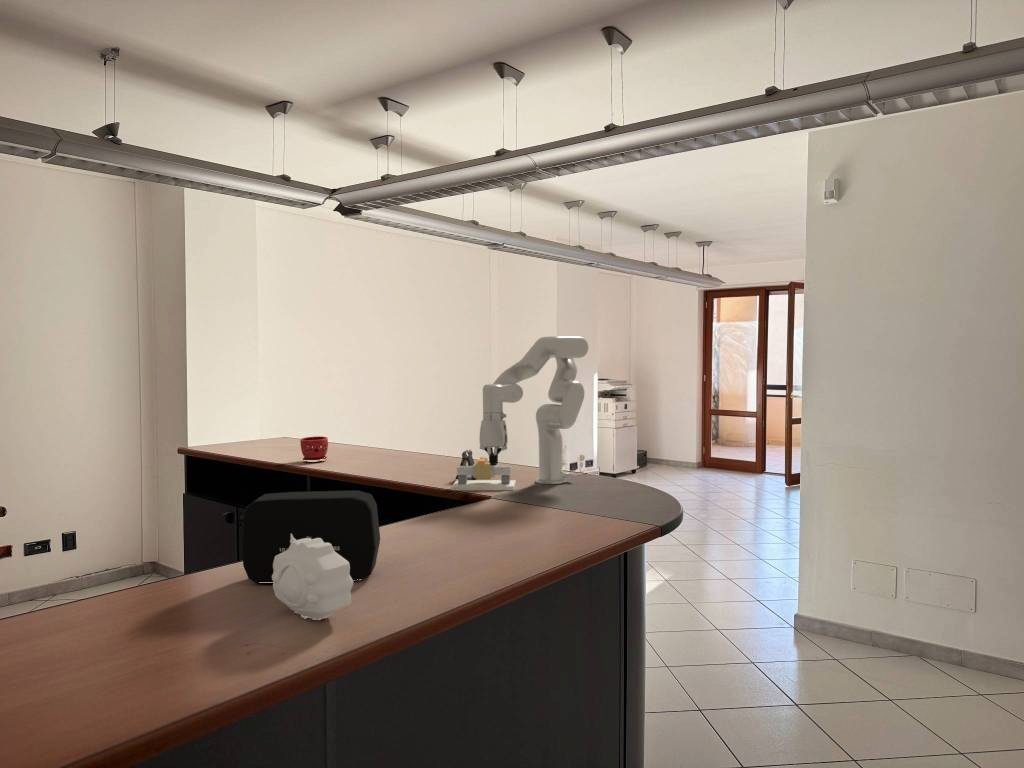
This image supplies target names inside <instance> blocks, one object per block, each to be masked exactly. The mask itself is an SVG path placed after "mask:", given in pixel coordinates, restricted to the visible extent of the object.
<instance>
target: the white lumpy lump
mask: <svg viewBox="0 0 1024 768" xmlns="http://www.w3.org/2000/svg"><path fill="white" fill-rule="evenodd" d="M290 536H291V540H290V543H291V544H290V547H289V549H288V550H287V551H285V552H282V553H280V554H278V555H276V556H275V558H274V562H273V570H274V572H273V575H272V580H273V582H274V583H273V584H272V588H273V592H274V596H275V597H276V598H277V599H278V600H279V601H281V602H282V603H283V605H286V606H287V607H288V608H289V609H290V610H291V611H292V610H293V611H295V612H297V613H298V614H297V615H299V614H300V615H303V616H308V617H311V618H316V619H319V618H323V617H325V616H328V615H331V614H333V613H334V614H335V613H336V612H337V610H339V609H341V608H344V607H346V606H349V605H350V604H351V602H352V595H351V594H352V593H351V590H352V588H353V586H354V581H353V580H352V578H351V576H350V574H349V572H350V565H349V562H348V561H347V560H346V559H344V558H343V557H342V556H340V555H339V554H337V553H336V552H335V551H334V549H333V547H332V545H331V544H330V543H324V542H323V540H322V539H321V538H315V539H311V538H304V539H300V540H296V539H295V538H294V537H293V535H292V534H291V535H290ZM293 611H292V612H293ZM334 614H333V615H334ZM300 615H299V616H300ZM311 618H310V619H311Z"/></svg>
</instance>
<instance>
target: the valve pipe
mask: <svg viewBox="0 0 1024 768" xmlns="http://www.w3.org/2000/svg"><path fill="white" fill-rule="evenodd" d="M457 475H467V476H471V475H473V478H476V480H492V479H493V478H495V476H502V475H510V476H511V475H512V465H495V466H493V465H492V466H490V463H489V461H485V465H482V466H477V462H475V464H474V465H473V466H468V465H466V466H460V465H458V466H456V476H457Z"/></svg>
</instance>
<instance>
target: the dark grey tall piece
mask: <svg viewBox="0 0 1024 768" xmlns="http://www.w3.org/2000/svg"><path fill="white" fill-rule="evenodd" d="M474 464H476V462H475V461H474V458H473V451H472V449H469V450H468V449H467V450H465V451H463V452H462V453H461V461H460V465H459V466H473V465H474ZM458 476H459V475H457V474H456V476H455V479H458ZM467 480H476V478H473V475H470V476H467Z"/></svg>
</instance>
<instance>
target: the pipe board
mask: <svg viewBox="0 0 1024 768" xmlns="http://www.w3.org/2000/svg"><path fill="white" fill-rule="evenodd" d="M467 477H468V475H459V476H458V480H455V482H454V483H453V484H452V485H451V490H452V489H458V490H457V491H514V490H515V488H514V487H516V485H517V480H515V479H511V475H500V477H501V479H497V480H495V479H493V480H492V479H491V480H467ZM515 484H516V485H515ZM459 489H460V490H459Z"/></svg>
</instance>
